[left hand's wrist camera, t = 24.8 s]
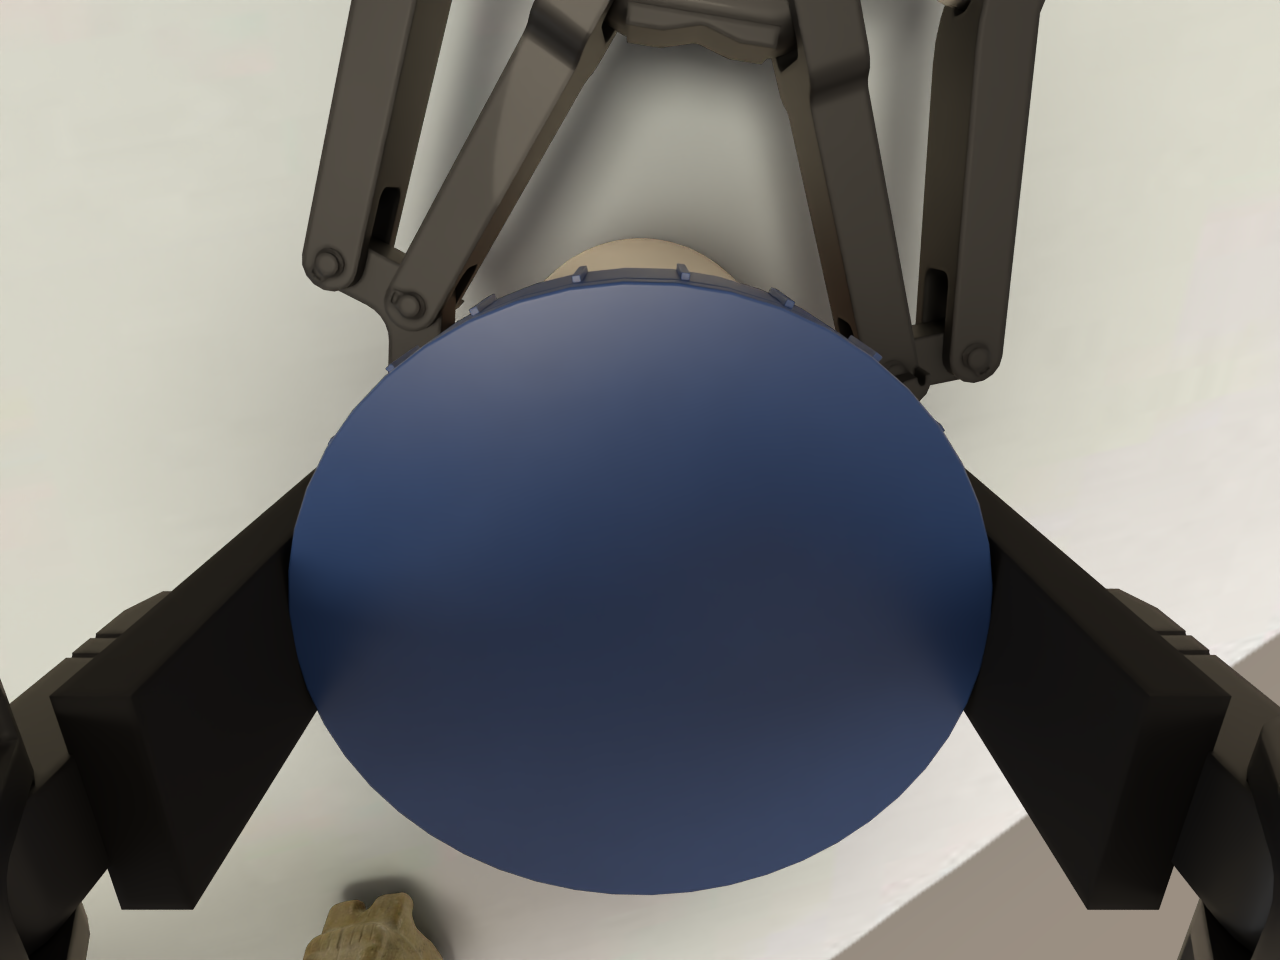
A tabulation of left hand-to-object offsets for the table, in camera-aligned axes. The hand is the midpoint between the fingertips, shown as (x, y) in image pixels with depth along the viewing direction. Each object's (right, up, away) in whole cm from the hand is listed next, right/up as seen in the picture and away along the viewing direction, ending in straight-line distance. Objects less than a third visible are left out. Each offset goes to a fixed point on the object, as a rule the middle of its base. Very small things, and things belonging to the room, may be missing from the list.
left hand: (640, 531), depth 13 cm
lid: (0, -1, -3) cm, 3 cm away
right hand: (-1, -2, +7) cm, 8 cm away
